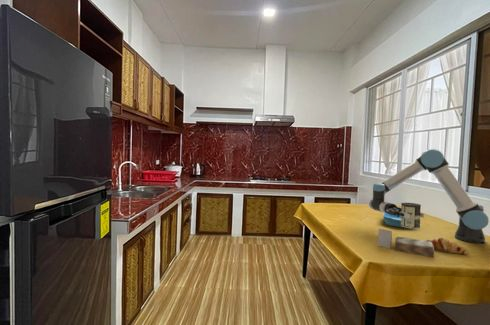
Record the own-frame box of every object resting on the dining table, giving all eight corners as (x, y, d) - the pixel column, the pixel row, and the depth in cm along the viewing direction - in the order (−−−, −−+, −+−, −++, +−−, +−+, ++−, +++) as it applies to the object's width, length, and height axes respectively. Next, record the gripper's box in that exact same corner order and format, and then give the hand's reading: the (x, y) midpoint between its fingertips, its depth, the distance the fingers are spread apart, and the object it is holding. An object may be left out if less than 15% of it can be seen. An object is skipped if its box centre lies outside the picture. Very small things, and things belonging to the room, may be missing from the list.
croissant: (468, 260, 147) (469, 246, 150) (468, 256, 140) (470, 241, 143) (423, 249, 161) (425, 236, 164) (421, 245, 154) (423, 232, 157)
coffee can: (415, 225, 168) (416, 202, 168) (423, 229, 158) (424, 206, 158) (397, 223, 170) (398, 202, 170) (404, 228, 160) (404, 205, 160)
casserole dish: (416, 231, 189) (416, 221, 189) (381, 226, 201) (381, 216, 201) (415, 220, 220) (415, 212, 220) (385, 216, 232) (385, 208, 232)
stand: (431, 250, 150) (432, 241, 150) (433, 257, 141) (434, 247, 141) (395, 244, 159) (395, 235, 159) (394, 250, 150) (395, 241, 150)
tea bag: (390, 248, 152) (391, 231, 152) (377, 245, 156) (378, 229, 156) (391, 247, 155) (392, 230, 155) (378, 244, 159) (379, 227, 159)
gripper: (402, 213, 184) (431, 221, 163) (374, 214, 179) (400, 222, 157) (402, 202, 184) (431, 208, 162) (374, 203, 179) (401, 210, 157)
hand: (416, 215), depth 160 cm, fingers closed on coffee can, 10 cm apart
